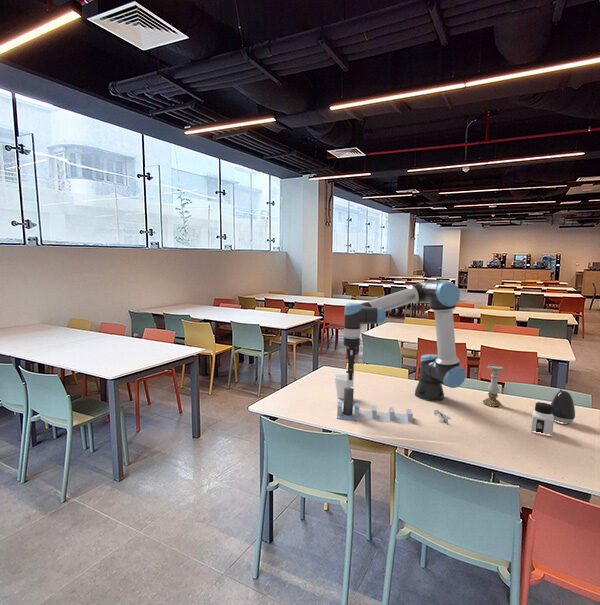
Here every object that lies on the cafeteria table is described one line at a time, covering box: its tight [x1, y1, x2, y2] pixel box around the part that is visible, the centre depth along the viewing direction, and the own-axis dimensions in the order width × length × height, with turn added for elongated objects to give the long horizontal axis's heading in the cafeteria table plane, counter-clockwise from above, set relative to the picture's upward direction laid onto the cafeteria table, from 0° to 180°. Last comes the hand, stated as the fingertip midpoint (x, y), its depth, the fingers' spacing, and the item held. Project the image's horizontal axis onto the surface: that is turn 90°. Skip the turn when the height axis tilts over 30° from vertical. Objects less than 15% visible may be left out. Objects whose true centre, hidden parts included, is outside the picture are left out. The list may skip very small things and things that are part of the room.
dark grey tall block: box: [342, 387, 355, 416], centre depth 179 cm, size 4×4×12 cm
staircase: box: [433, 409, 452, 425], centre depth 174 cm, size 6×4×6 cm, turn 24°
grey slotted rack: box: [336, 401, 414, 425], centre depth 178 cm, size 34×11×5 cm, turn 82°
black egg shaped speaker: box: [550, 389, 576, 424], centre depth 179 cm, size 10×10×15 cm
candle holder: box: [482, 364, 505, 407], centre depth 199 cm, size 9×9×20 cm
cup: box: [334, 374, 352, 400], centre depth 202 cm, size 10×10×11 cm
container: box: [530, 401, 555, 436], centre depth 168 cm, size 8×8×13 cm
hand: (350, 381), depth 178 cm, fingers open, 13 cm apart
